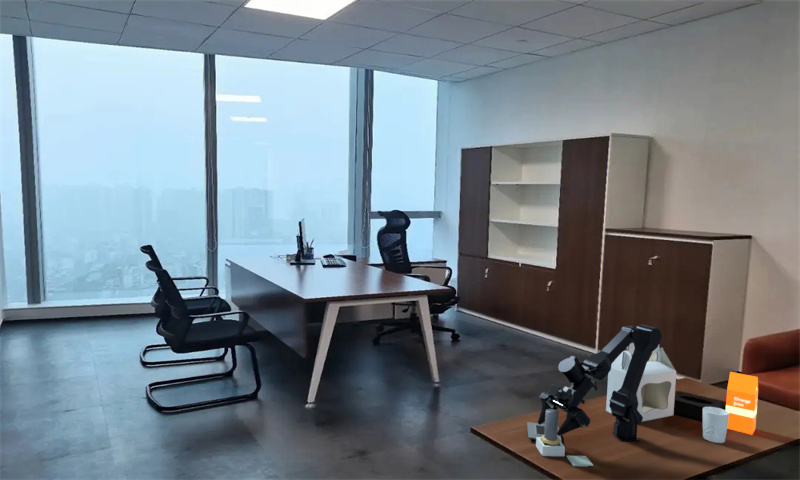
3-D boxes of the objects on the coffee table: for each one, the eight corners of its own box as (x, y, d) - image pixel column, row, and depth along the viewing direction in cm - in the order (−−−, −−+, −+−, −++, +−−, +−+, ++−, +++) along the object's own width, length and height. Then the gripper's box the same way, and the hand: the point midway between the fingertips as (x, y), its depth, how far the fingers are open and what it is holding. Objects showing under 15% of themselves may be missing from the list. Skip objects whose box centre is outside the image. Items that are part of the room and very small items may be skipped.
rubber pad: (585, 457, 171) (585, 455, 171) (593, 466, 165) (593, 464, 165) (566, 457, 170) (566, 455, 170) (573, 466, 164) (573, 464, 164)
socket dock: (557, 446, 178) (557, 437, 178) (564, 456, 171) (565, 447, 171) (535, 446, 178) (536, 437, 177) (542, 455, 171) (542, 446, 170)
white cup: (724, 436, 191) (726, 408, 191) (729, 445, 184) (731, 416, 183) (698, 433, 194) (700, 405, 193) (703, 441, 186) (705, 412, 186)
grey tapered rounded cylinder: (555, 447, 177) (558, 408, 176) (561, 455, 172) (563, 414, 171) (538, 447, 177) (540, 407, 176) (543, 455, 171) (546, 414, 171)
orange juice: (727, 422, 205) (731, 369, 204) (755, 428, 200) (759, 374, 198) (723, 428, 199) (727, 373, 198) (752, 435, 194) (756, 379, 192)
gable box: (645, 404, 222) (649, 335, 220) (674, 415, 210) (679, 343, 209) (605, 411, 212) (609, 339, 210) (633, 423, 200) (638, 348, 199)
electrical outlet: (561, 446, 179) (561, 439, 179) (528, 443, 181) (528, 436, 181) (557, 431, 192) (558, 424, 192) (526, 427, 194) (527, 421, 194)
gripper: (545, 367, 183) (516, 403, 179) (585, 384, 166) (554, 424, 162) (562, 388, 187) (534, 424, 183) (603, 407, 170) (573, 447, 166)
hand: (547, 429), depth 173 cm, fingers open, 9 cm apart
